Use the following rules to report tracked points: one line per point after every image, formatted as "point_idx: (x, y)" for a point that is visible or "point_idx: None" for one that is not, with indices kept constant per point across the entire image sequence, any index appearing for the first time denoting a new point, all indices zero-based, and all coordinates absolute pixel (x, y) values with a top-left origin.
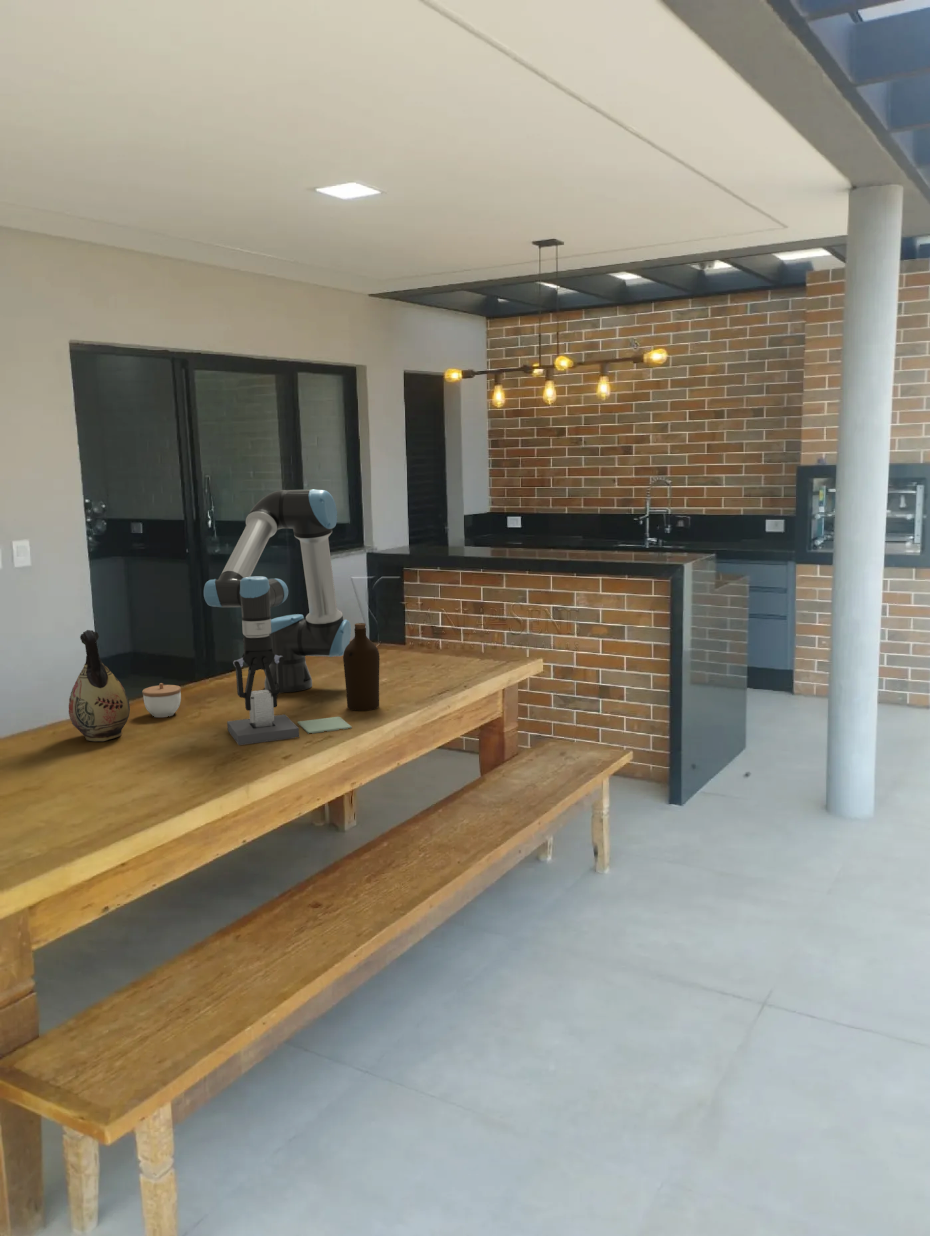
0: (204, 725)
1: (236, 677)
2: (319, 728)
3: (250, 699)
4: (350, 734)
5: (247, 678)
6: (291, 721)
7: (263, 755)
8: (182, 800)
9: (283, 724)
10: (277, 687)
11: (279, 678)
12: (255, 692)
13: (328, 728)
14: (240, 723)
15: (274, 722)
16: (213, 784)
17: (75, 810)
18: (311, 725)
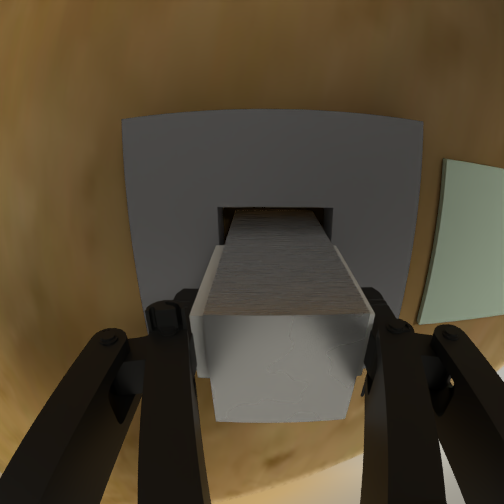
0: (75, 17)
1: (26, 451)
2: (463, 296)
3: (197, 369)
4: (486, 359)
5: (142, 463)
6: (406, 267)
7: (226, 439)
8: (102, 498)
9: None
10: (440, 358)
11: (456, 464)
12: (240, 370)
13: (480, 307)
14: (176, 189)
15: (338, 248)
16: (131, 490)
17: (3, 453)
18: (464, 245)
